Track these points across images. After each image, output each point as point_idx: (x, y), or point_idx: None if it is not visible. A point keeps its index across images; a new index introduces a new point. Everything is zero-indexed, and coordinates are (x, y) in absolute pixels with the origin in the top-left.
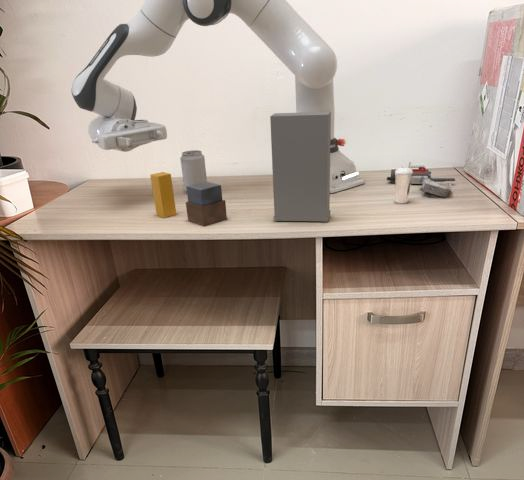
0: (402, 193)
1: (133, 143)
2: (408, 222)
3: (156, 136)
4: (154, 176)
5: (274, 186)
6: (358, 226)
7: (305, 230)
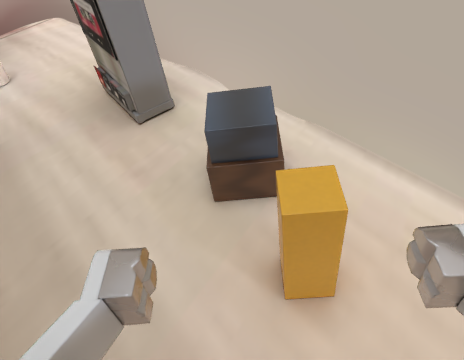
0: (2, 65)
1: (409, 248)
2: None
3: (141, 298)
4: (339, 186)
5: (156, 48)
6: None
7: (180, 71)
